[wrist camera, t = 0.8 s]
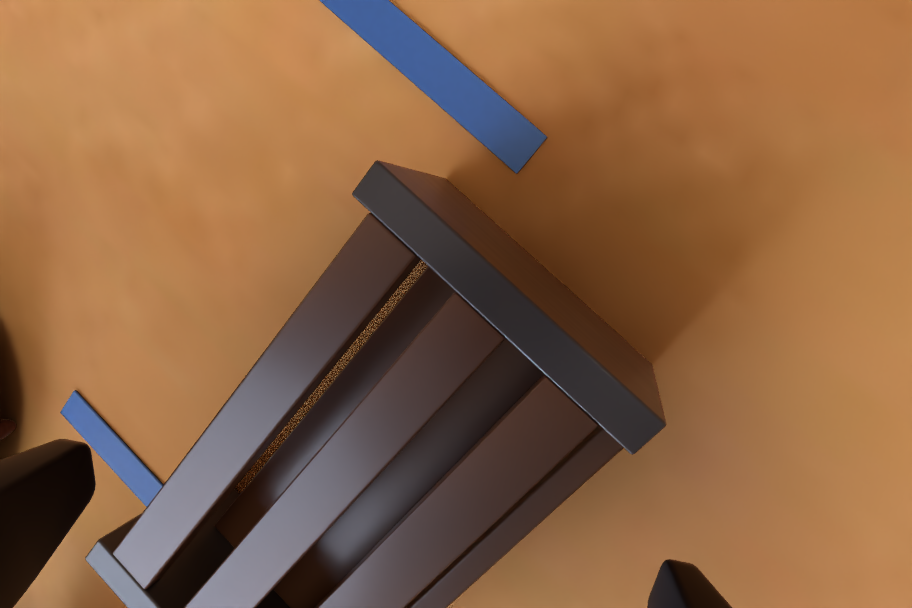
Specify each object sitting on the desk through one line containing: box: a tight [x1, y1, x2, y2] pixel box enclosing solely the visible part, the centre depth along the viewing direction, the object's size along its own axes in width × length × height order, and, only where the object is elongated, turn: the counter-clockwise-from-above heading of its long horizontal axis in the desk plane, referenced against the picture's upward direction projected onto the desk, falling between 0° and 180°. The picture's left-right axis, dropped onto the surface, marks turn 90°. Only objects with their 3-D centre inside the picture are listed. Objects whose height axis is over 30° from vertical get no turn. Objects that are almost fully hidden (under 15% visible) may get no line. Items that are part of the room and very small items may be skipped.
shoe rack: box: [85, 160, 666, 608], centre depth 19 cm, size 10×18×6 cm, turn 140°
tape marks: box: [60, 0, 547, 507], centre depth 23 cm, size 10×25×1 cm, turn 140°
